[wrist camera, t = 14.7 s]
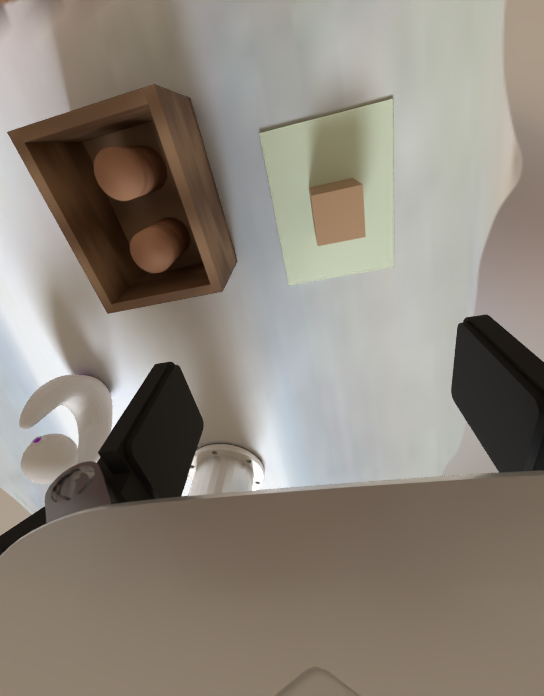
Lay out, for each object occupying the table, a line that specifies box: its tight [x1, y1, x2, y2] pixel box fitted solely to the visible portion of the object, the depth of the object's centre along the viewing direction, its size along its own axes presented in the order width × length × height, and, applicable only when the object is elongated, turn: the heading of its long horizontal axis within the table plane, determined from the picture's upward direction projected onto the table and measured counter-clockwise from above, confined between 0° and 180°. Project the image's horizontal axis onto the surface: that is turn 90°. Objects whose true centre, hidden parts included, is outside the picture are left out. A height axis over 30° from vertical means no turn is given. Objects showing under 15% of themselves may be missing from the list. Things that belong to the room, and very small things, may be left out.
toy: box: [20, 375, 112, 484], centre depth 38 cm, size 11×7×15 cm, turn 20°
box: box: [7, 84, 237, 314], centre depth 28 cm, size 14×11×8 cm
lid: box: [259, 99, 394, 285], centre depth 28 cm, size 14×11×6 cm
